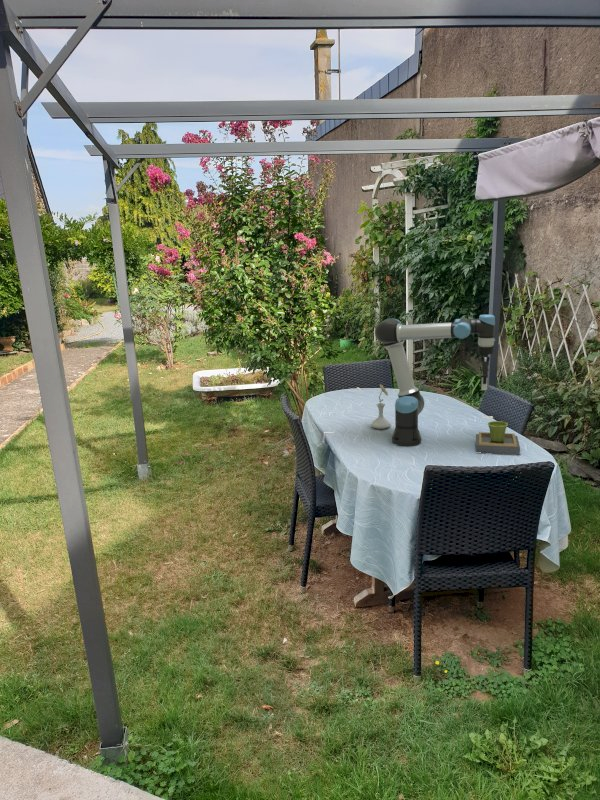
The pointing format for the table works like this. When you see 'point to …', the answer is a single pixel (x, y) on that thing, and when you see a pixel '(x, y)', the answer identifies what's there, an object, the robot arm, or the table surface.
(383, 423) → the flower in vase
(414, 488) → the table surface
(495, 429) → the plant pot
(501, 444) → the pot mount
